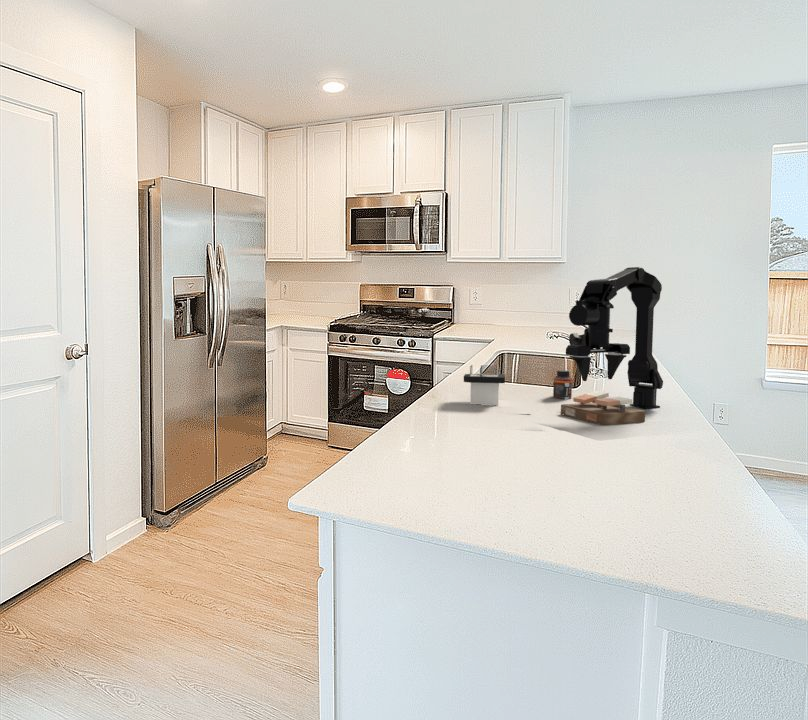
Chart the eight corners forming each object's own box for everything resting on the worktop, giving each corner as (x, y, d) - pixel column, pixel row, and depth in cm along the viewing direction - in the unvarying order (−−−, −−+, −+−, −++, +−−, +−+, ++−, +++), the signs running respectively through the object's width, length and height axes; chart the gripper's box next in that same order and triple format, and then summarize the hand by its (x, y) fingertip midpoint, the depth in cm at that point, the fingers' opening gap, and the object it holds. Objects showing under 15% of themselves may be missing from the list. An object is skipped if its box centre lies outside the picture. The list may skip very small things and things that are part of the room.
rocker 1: (596, 397, 179) (595, 390, 179) (610, 399, 174) (609, 392, 174) (573, 404, 176) (572, 397, 175) (586, 407, 171) (585, 400, 170)
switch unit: (599, 411, 182) (600, 395, 182) (644, 421, 166) (645, 404, 166) (559, 414, 176) (560, 397, 176) (602, 425, 160) (603, 407, 159)
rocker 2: (617, 403, 171) (618, 396, 171) (633, 406, 166) (633, 399, 166) (593, 406, 167) (593, 399, 167) (608, 409, 162) (608, 402, 162)
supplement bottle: (572, 406, 193) (573, 371, 192) (553, 405, 194) (554, 371, 193) (570, 403, 199) (571, 370, 198) (552, 402, 200) (553, 369, 199)
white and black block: (527, 402, 200) (527, 363, 199) (530, 414, 174) (531, 370, 173) (444, 399, 204) (445, 361, 203) (436, 411, 179) (436, 368, 178)
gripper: (603, 323, 176) (602, 375, 178) (553, 324, 168) (552, 378, 170) (632, 324, 166) (630, 379, 167) (580, 325, 158) (578, 383, 160)
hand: (597, 380), depth 166 cm, fingers open, 9 cm apart
